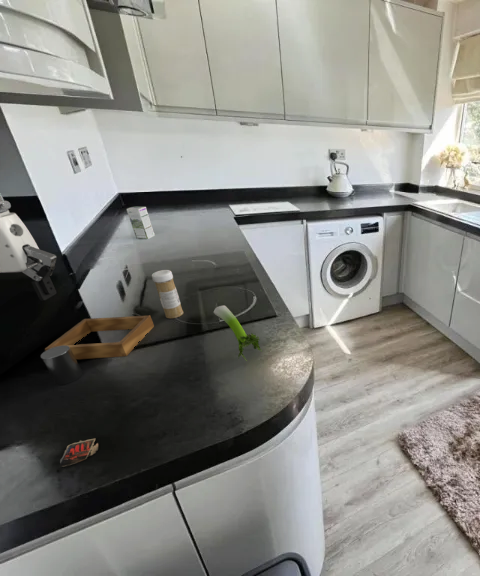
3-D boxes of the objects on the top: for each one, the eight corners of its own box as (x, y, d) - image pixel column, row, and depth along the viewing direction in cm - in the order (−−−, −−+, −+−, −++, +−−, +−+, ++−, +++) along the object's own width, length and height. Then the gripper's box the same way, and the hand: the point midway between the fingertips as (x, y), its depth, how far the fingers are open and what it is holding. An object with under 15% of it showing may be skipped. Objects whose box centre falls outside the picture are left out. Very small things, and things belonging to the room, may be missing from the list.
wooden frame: (51, 361, 74) (44, 348, 73) (89, 329, 86) (84, 318, 84) (126, 356, 76) (121, 344, 75) (154, 326, 88) (150, 315, 86)
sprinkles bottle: (169, 311, 95) (156, 269, 89) (186, 310, 95) (174, 268, 90) (162, 320, 91) (148, 276, 85) (180, 318, 91) (166, 275, 85)
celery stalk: (234, 314, 97) (272, 357, 76) (210, 324, 94) (242, 373, 72) (227, 296, 95) (263, 336, 73) (202, 306, 91) (232, 351, 69)
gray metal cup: (50, 385, 67) (34, 359, 64) (65, 371, 71) (51, 345, 68) (73, 384, 68) (59, 357, 65) (87, 370, 72) (74, 344, 69)
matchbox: (59, 471, 51) (58, 469, 50) (63, 447, 54) (62, 445, 54) (97, 455, 53) (96, 453, 53) (99, 434, 57) (98, 432, 57)
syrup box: (155, 235, 160) (146, 206, 154) (148, 239, 155) (138, 208, 148) (143, 235, 160) (134, 206, 154) (135, 239, 155) (125, 208, 148)
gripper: (49, 203, 58) (84, 288, 66) (-63, 202, 56) (-13, 290, 64) (11, 213, 52) (56, 306, 59) (-117, 212, 49) (-54, 309, 57)
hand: (20, 297), depth 61 cm, fingers open, 9 cm apart
